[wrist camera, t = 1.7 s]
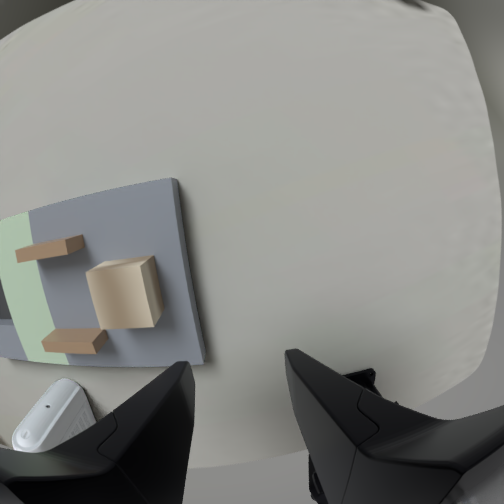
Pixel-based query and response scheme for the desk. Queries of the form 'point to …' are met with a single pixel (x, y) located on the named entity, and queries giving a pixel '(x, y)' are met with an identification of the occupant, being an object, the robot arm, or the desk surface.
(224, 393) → the desk surface
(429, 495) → the robot arm
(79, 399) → the photo printer
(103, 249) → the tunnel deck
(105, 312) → the birch block
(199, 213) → the desk surface
